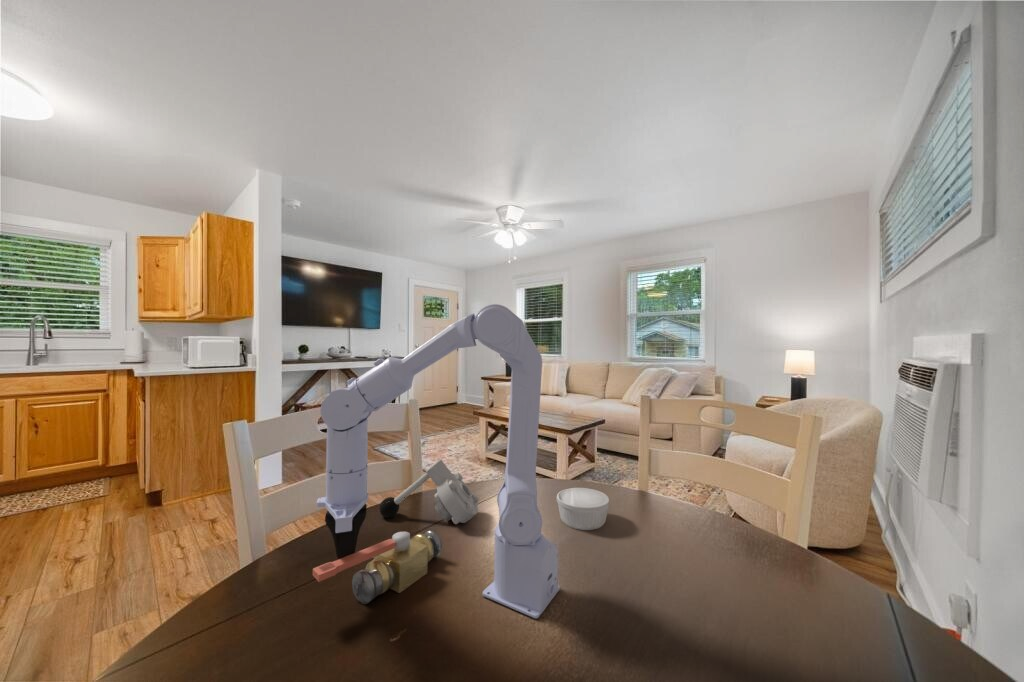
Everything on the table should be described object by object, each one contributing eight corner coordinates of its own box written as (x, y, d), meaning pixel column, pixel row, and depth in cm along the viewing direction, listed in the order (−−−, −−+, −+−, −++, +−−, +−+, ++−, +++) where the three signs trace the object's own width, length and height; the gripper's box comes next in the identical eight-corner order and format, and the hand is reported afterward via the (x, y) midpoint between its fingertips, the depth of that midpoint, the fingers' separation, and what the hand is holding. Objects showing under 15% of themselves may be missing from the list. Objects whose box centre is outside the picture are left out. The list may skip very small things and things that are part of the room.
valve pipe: (420, 550, 70) (420, 524, 70) (445, 560, 67) (445, 532, 67) (348, 595, 57) (348, 563, 57) (374, 610, 54) (375, 576, 54)
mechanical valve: (477, 518, 77) (432, 459, 79) (409, 574, 77) (365, 514, 79) (484, 501, 87) (444, 449, 89) (424, 551, 87) (385, 498, 89)
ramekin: (547, 514, 85) (547, 491, 85) (588, 506, 90) (588, 484, 90) (575, 538, 75) (576, 511, 75) (620, 527, 80) (620, 502, 80)
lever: (404, 540, 64) (404, 529, 64) (413, 546, 62) (413, 535, 62) (311, 579, 53) (311, 566, 53) (319, 588, 51) (319, 574, 51)
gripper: (323, 456, 62) (321, 539, 62) (310, 488, 49) (308, 594, 49) (368, 452, 65) (367, 532, 65) (368, 481, 51) (367, 582, 51)
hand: (345, 558), depth 57 cm, fingers closed, pressing on lever
